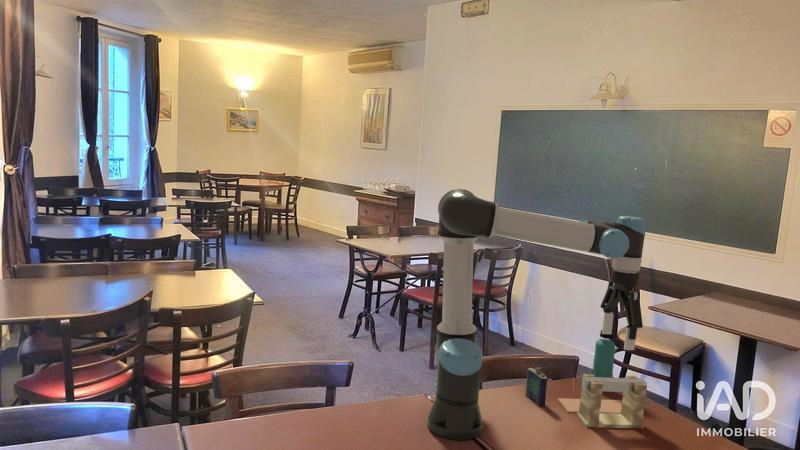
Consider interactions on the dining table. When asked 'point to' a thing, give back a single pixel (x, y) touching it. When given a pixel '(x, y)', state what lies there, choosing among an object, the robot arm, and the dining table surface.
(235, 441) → the dining table surface
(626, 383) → the rail
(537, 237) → the robot arm
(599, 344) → the beverage bottle
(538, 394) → the flask
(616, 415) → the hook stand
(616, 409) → the mat
